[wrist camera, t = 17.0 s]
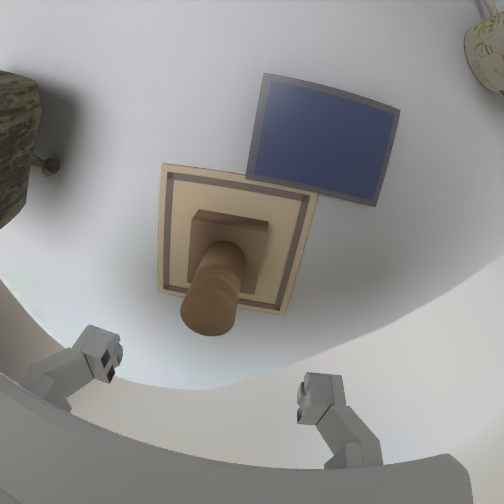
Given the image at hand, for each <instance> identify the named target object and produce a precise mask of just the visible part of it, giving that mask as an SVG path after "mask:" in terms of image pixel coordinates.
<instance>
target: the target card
mask: <svg viewBox="0 0 504 504" xmlns="http://www.w3.org/2000/svg"><path fill="white" fill-rule="evenodd" d="M245 177H246V175H243V174H237V173H231V172H224V171H218V170H211V169H204V168H197V167H189V166H182V165H174V164H165V163H163V164H162V167H161V181H160V197H159V220H158V292H161V293H166V294H170V295H175V296H180V297H184V298H185V296H186V294H187V292H188V289H189V287H190V285H191V283H188V282H187V272H188V257H189V244H190V231H191V220H192V218H193V216H194V215H195V214H196V212H197V211H198V209H202V210H208V211H213V212H219V213H225V214H231V215H236V216H242V217H247V218H253V219H258V220H263V221H268V234H267V239H266V244H265V248H264V253H263V257H262V262H261V267H260V271H259V276H258V280H257V285H256V289H255V294H254V295H251V294H245V293H240V292H239V298H238V303H237V308H242V309H248V310H253V311H259V312H265V313H272V314H278V315H284V314H285V311H286V308H287V304H288V301H289V298H290V294H291V291H292V288H293V284H294V281H295V277H296V274H297V270H298V267H299V263H300V260H301V256H302V253H303V249H304V246H305V242H306V238H307V235H308V231H309V227H310V223H311V220H312V216H313V212H314V208H315V204H316V200H317V196H318V193H314V192H310V191H305V190H300V189H295V188H290V187H285V186H280V185H275V184H270V183H264V182H259V181H253V180H248V179H245Z"/></svg>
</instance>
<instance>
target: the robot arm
mask: <svg viewBox="0 0 504 504" xmlns="http://www.w3.org/2000/svg"><path fill="white" fill-rule="evenodd" d="M119 341H120V336H119V335H118V334H115V333H113V332H110V331H107V330H104V329H101V328H98V327H96V326H93V325H88V326H87V327H86V328H85V329H84V331H83V332H82V334H81V335H80V337H79V338H78V340H77V341H76V342H75V344H74V345H73V347H72V348H67V349H65V350H63V351H61V352H59V353H57V354H54V355H52V356H50V357H48V358H46V359H44V360H42V361H39V362H37V363H35V364H33V365H31V367H30V368H29V369H28V371H27V373H26V374H25V375H24V377H23V378H22V380H21V381H20V383H19V384H17V383H16V382H14V381H13V380H11V379H10V378H8V377H7V376H5V375H4V374H2V373H1V372H0V504H473V496H472V489H471V482H470V477H469V474H468V471H467V469H466V468H465V467H464V466H463V465H462V464H461V463H460V462H459V461H457V460H456V459H455V458H454V457H453V456H451V455H450V454H441V455H437V456H433V457H428V458H423V459H418V460H413V461H408V462H402V463H395V464H388V465H383V460H382V453H381V446H380V441H379V439H378V438H377V437H376V436H375V435H374V434H373V433H372V432H371V430H370V429H369V428H368V427H367V426H366V425H365V424H364V422H363V421H362V420H361V419H360V418H359V417H358V415H357V414H356V413H355V412H354V411H353V410H352V409H351V408H350V406H346V400H345V393H344V387H343V381H342V376H341V375H332V374H322V373H321V374H320V373H309V372H307V373H306V374H305V376H304V382H302V383H301V384H300V387H299V389H298V395H297V403H298V404H299V406H300V407H299V409H298V411H297V424H306V425H316V427H317V429H318V431H319V432H320V434H321V435H322V437H323V439H324V440H325V442H326V443H327V445H328V446H329V448H330V449H331V451H332V452H333V454H334V456H333V457H332V458H331V459H330V460H328V461H327V462H326V463H325V464H324V469H285V468H271V467H260V466H251V465H243V464H236V463H228V462H223V461H217V460H211V459H206V458H201V457H196V456H192V455H188V454H183V453H179V452H175V451H172V450H168V449H164V448H161V447H157V446H154V445H150V444H147V443H144V442H141V441H138V440H135V439H132V438H129V437H126V436H123V435H121V434H118V433H115V432H112V431H110V430H107V429H105V428H102V427H100V426H97V425H95V424H93V423H91V422H88V421H86V420H84V419H82V418H79V417H77V416H75V415H73V414H71V413H70V411H71V409H72V408H71V406H70V404H69V402H68V401H67V399H66V398H67V397H69V396H70V395H72V394H73V393H74V392H76V391H77V390H79V389H80V388H82V387H83V386H85V385H86V384H88V383H89V382H91V381H92V380H93V379H94V378H95V379H97V380H100V381H103V382H106V383H109V384H110V382H111V380H112V378H113V376H114V374H115V370H114V368H116V367H117V366H119V365H120V362H121V360H122V356H123V349H122V346H121V345H120V344H119Z"/></svg>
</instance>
